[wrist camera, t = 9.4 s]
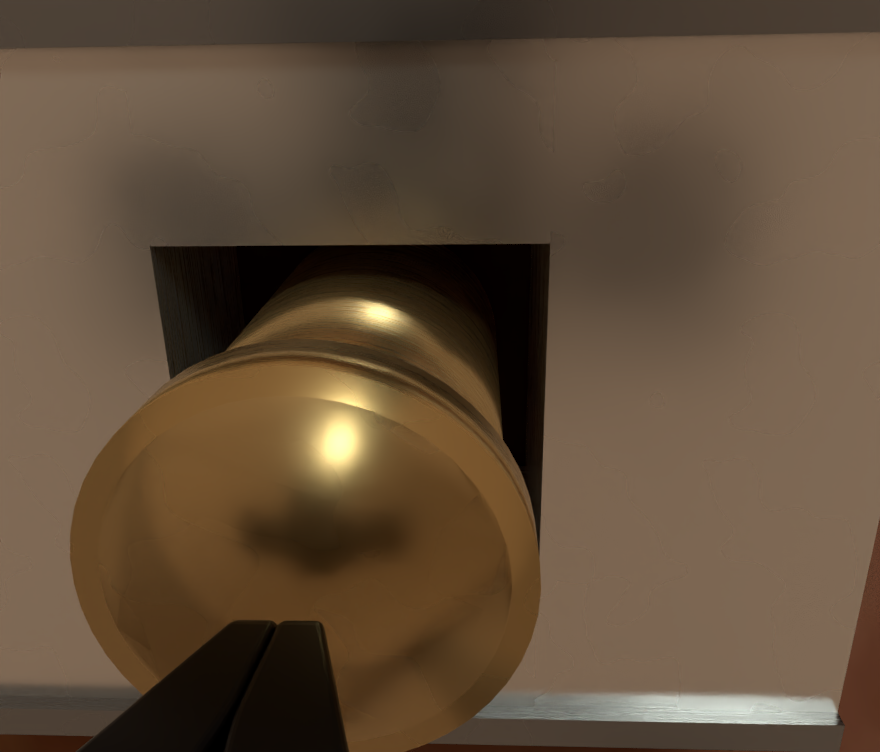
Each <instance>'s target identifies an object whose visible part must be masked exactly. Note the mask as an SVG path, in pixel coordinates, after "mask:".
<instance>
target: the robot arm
mask: <svg viewBox="0 0 880 752" xmlns="http://www.w3.org/2000/svg"><path fill="white" fill-rule="evenodd" d="M76 752H349V748H348V743H347V738H346V733H345V728H344V723H343V718H342V713H341V708H340V703H339V698H338V693H337V688H336V683H335V678H334V673H333V668H332V663H331V658H330V653H329V648H328V643H327V638H326V633H325V629H324V626H323V624H322V623H321V622H319V621H292V620H286V621H283V622H281V623H279V624H278V625H277V624H276V623H275V622H274V621H271V620H235V621H232V622H230V623H229V624H227V625H226V626H225V627H224V628H223V629H221V630H220V631H219V632H218V633H217V634H215V635H214V636H213V637H212V638H211V639H209V640H208V641H207V642H206V643H205V644H203V645H202V646H201V647H200V648H199V649H198V650H196V651H195V652H194V653H193V654H192V655H190V656H189V657H188V658H187V659H186V660H184V661H183V662H182V663H181V664H180V665H178V666H177V667H176V668H175V669H174V670H173V671H171V672H170V673H169V674H168V675H167V676H165V677H164V678H163V679H162V680H161V681H159V682H158V683H157V684H156V685H155V686H153V687H152V688H151V689H150V690H149V691H148V692H146V693H145V694H144V695H143V696H142V697H140V698H139V699H138V700H137V701H136V702H134V703H133V704H132V705H131V706H130V707H128V708H127V709H126V710H125V711H124V712H123V713H121V714H120V715H119V716H118V717H117V718H115V719H114V720H113V721H112V722H111V723H109V724H108V725H107V726H106V727H105V728H103V729H102V730H101V731H100V732H99V733H98V734H96V735H95V736H94V737H93V738H92V739H90V740H89V741H88V742H87V743H86V744H84V745H83V746H82V747H81V748H80V749H78V750H77V751H76Z"/></svg>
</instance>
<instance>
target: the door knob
mask: <svg viewBox="0 0 880 752" xmlns="http://www.w3.org/2000/svg"><path fill="white" fill-rule="evenodd" d="M70 561H71V568H72V575H73V582H74V586H75V589H76V593H77V596H78V599H79V603H80V606H81V609H82V611H83V613H84V616H85V618H86V620H87V622H88V624H89V627H90V629H91V631H92V633H93V634H94V636H95V638H96V639H97V641H98V642H99V644H100V646H101V647H102V649H103V650H104V652H105V654H106V655H107V656H108V658H109V659H110V660H111V661H112V663H113V664H114V665H115V666H116V668H117V669H118V670H119V671H120V673H121V674H122V675H123V676H124V677H125V678H126V679H127V680H128V681H129V682H130V683H131V684H132V685H133V686H134V687H135V688H136V689H137V690H138V691H139V692H140V693H141V694H142V695H144V694H145V693H146V692H148V691H149V690H150V689H151V688H152V687H153V686H155V685H156V684H157V683H158V682H159V681H161V680H162V679H163V678H164V677H165V676H167V675H168V674H169V673H170V672H171V671H173V670H174V669H175V668H176V667H177V666H178V665H180V664H181V663H182V662H183V661H184V660H186V659H187V658H188V657H189V656H190V655H192V654H193V653H194V652H195V651H196V650H198V649H199V648H200V647H201V646H202V645H203V644H205V643H206V642H207V641H208V640H209V639H211V638H212V637H213V636H214V635H215V634H217V633H218V632H219V631H220V630H221V629H223V628H224V627H225V626H226V625H227V624H229V623H230V622H232V621H235V620H271V621H274V622H275V623H276V624H277V625H278V624H279V623H281V622H283V621H286V620H292V621H319V622H321V623H322V624H323V626H324V629H325V633H326V638H327V643H328V648H329V653H330V658H331V663H332V668H333V673H334V678H335V683H336V688H337V693H338V698H339V703H340V708H341V713H342V718H343V723H344V728H345V733H346V738H347V743H348V748H349V752H405V751H408V750H411V749H414V748H417V747H419V746H422V745H425V744H427V743H430V742H432V741H434V740H436V739H438V738H440V737H442V736H444V735H446V734H448V733H450V732H451V731H453V730H454V729H456V728H457V727H459V726H461V725H462V724H464V723H465V722H467V721H468V720H470V719H471V718H472V717H474V716H475V715H476V714H477V713H478V712H479V711H481V710H482V709H483V708H484V707H485V706H486V705H488V704H489V703H490V702H491V701H492V700H493V699H494V698H495V696H496V695H497V694H498V693H499V692H500V691H501V690H502V688H503V687H504V686H505V685H506V684H507V683H508V681H509V680H510V678H511V677H512V675H513V674H514V672H515V671H516V669H517V667H518V666H519V664H520V663H521V661H522V659H523V657H524V654H525V652H526V650H527V648H528V646H529V644H530V641H531V639H532V635H533V632H534V628H535V625H536V621H537V618H538V613H539V604H540V595H541V574H540V559H539V551H538V542H537V534H536V526H535V519H534V514H533V509H532V504H531V499H530V495H529V492H528V490H527V487H526V484H525V481H524V479H523V476H522V473H521V471H520V469H519V467H518V465H517V463H516V461H515V460H514V458H513V456H512V454H511V452H510V450H509V448H508V447H507V445H506V444H505V443H504V441H503V434H502V418H501V403H500V387H499V372H498V356H497V341H496V325H495V320H494V315H493V310H492V307H491V304H490V301H489V299H488V296H487V294H486V292H485V290H484V288H483V286H482V284H481V283H480V281H479V280H478V278H477V277H476V276H475V274H474V273H473V271H472V270H471V269H470V268H469V267H468V266H467V265H466V264H465V263H464V261H463V260H461V259H460V258H459V257H458V256H457V255H455V254H454V253H453V252H452V251H451V250H449V249H447V248H446V247H444V246H443V245H441V244H424V245H321V246H319V247H318V248H316V249H315V250H314V251H312V252H311V253H310V254H309V255H308V256H307V257H306V258H304V259H303V260H302V261H301V262H300V264H299V265H298V266H297V267H296V268H295V269H294V271H293V272H292V273H291V274H290V275H289V277H288V278H287V279H286V280H285V281H284V282H283V284H282V285H281V286H280V287H279V288H278V289H277V291H276V292H275V293H274V294H273V295H272V297H271V298H270V299H269V300H268V301H267V302H266V304H265V305H264V306H263V307H262V308H261V310H260V311H259V312H258V313H257V314H256V315H255V317H254V318H253V319H252V320H251V321H250V323H249V324H248V325H247V326H246V327H245V328H244V330H243V331H242V332H241V333H240V334H239V335H238V337H237V338H236V339H235V340H234V341H233V343H232V344H231V345H230V346H229V347H228V348H227V350H226V351H225V352H222V353H219V354H216V355H213V356H211V357H209V358H207V359H205V360H203V361H201V362H199V363H197V364H195V365H193V366H191V367H189V368H187V369H185V370H184V371H182V372H181V373H179V374H178V375H177V376H175V377H174V378H172V379H171V380H169V381H168V382H166V383H165V384H164V385H163V386H161V387H160V388H159V389H158V390H157V391H156V392H155V393H154V394H153V395H152V396H151V397H150V398H149V399H148V400H147V401H146V402H145V403H144V404H143V405H142V406H141V407H140V408H139V409H138V410H137V411H136V412H135V413H134V414H133V415H132V416H131V417H130V418H129V419H128V420H127V421H126V422H125V423H124V425H123V426H122V427H121V428H120V429H119V430H118V431H117V432H116V433H115V434H114V435H113V436H112V437H111V439H110V440H109V441H108V443H107V444H106V445H105V447H104V448H103V449H102V450H101V452H100V453H99V454H98V456H97V457H96V458H95V460H94V462H93V464H92V466H91V468H90V470H89V471H88V473H87V475H86V477H85V479H84V481H83V483H82V486H81V489H80V492H79V495H78V498H77V501H76V504H75V507H74V513H73V518H72V524H71V530H70Z"/></svg>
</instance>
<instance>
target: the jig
mask: <svg viewBox="0 0 880 752" xmlns="http://www.w3.org/2000/svg"><path fill="white" fill-rule="evenodd" d="M424 244H531V257H530V296H529V335H528V375H527V414H526V453H525V466H518V467H519V469H520V471H521V473H522V476H523V479H524V481H525V484H526V487H527V490H528V492H529V495H530V499H531V504H532V509H533V514H534V519H535V526H536V534H537V542H538V551H539V559H540V574H541V595H540V604H539V613H538V618H537V621H536V625H535V628H534V632H533V635H532V639H531V641H530V644H529V646H528V648H527V650H526V652H525V654H524V657H523V659H522V661H521V663H520V664H519V666H518V667H517V669H516V671H515V672H514V674H513V675H512V677H511V678H510V680H509V681H508V683H507V684H506V685H505V686H504V687H503V688H502V690H501V691H500V692H499V693H498V694H497V695H496V696H495V698H494V699H493V700H492V701H491V702H490V703H489V704H488V705H486V706H485V707H484V708H483V709H482V710H481V711H479V712H478V713H477V714H476V715H475V716H474V717H472V718H471V719H470V720H468V721H467V722H465V723H464V724H462V725H461V726H459V727H457V728H456V729H454V730H453V731H451V732H450V733H448V734H446V735H444V736H442V737H440V738H438V739H436V740H434V741H432V742H430V743H429V744H475V745H521V746H567V747H612V748H658V749H704V750H749V751H795V752H839V749H840V745H841V740H842V736H843V731H844V727H845V725H844V723H843V722H842V720H841V718H840V716H839V714H838V707H839V702H840V698H841V693H842V689H843V684H844V679H845V675H846V670H847V665H848V661H849V656H850V652H851V647H852V642H853V638H854V633H855V629H856V624H857V619H858V615H859V610H860V605H861V601H862V596H863V592H864V587H865V582H866V578H867V573H868V569H869V564H870V559H871V555H872V550H873V546H874V541H875V536H876V532H877V527H878V522H879V518H880V0H0V734H18V735H64V736H95V735H96V734H98V733H99V732H100V731H101V730H102V729H103V728H105V727H106V726H107V725H108V724H109V723H111V722H112V721H113V720H114V719H115V718H117V717H118V716H119V715H120V714H121V713H123V712H124V711H125V710H126V709H127V708H128V707H130V706H131V705H132V704H133V703H134V702H136V701H137V700H138V699H139V698H140V697H142V696H143V695H142V694H141V693H140V692H139V691H138V690H137V689H136V688H135V687H134V686H133V685H132V684H131V683H130V682H129V681H128V680H127V679H126V678H125V677H124V676H123V675H122V674H121V673H120V671H119V670H118V669H117V668H116V666H115V665H114V664H113V663H112V661H111V660H110V659H109V658H108V656H107V655H106V654H105V652H104V650H103V649H102V647H101V646H100V644H99V642H98V641H97V639H96V638H95V636H94V634H93V633H92V631H91V629H90V627H89V624H88V622H87V620H86V618H85V616H84V613H83V611H82V609H81V606H80V603H79V599H78V596H77V593H76V589H75V586H74V582H73V575H72V568H71V561H70V530H71V524H72V518H73V513H74V507H75V504H76V501H77V498H78V495H79V492H80V489H81V486H82V483H83V481H84V479H85V477H86V475H87V473H88V471H89V470H90V468H91V466H92V464H93V462H94V460H95V458H96V457H97V456H98V454H99V453H100V452H101V450H102V449H103V448H104V447H105V445H106V444H107V443H108V441H109V440H110V439H111V437H112V436H113V435H114V434H115V433H116V432H117V431H118V430H119V429H120V428H121V427H122V426H123V425H124V423H125V422H126V421H127V420H128V419H129V418H130V417H131V416H132V415H133V414H134V413H135V412H136V411H137V410H138V409H139V408H140V407H141V406H142V405H143V404H144V403H145V402H146V401H147V400H148V399H149V398H150V397H151V396H152V395H153V394H154V393H155V392H156V391H157V390H158V389H159V388H160V387H161V386H163V385H164V384H165V383H166V382H168V381H169V380H171V379H172V378H174V377H175V376H177V375H178V374H179V373H181V372H182V371H184V370H185V369H187V368H189V367H191V366H193V365H195V364H197V363H199V362H201V361H203V360H205V359H207V358H209V357H211V356H213V355H216V354H219V353H222V352H225V351H226V350H227V348H228V347H229V346H230V345H231V344H232V343H233V341H234V340H235V339H236V338H237V337H238V335H239V334H240V333H241V332H242V331H243V330H244V328H245V321H244V312H243V303H242V294H241V285H240V276H239V267H238V259H237V250H236V246H281V245H424Z"/></svg>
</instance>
